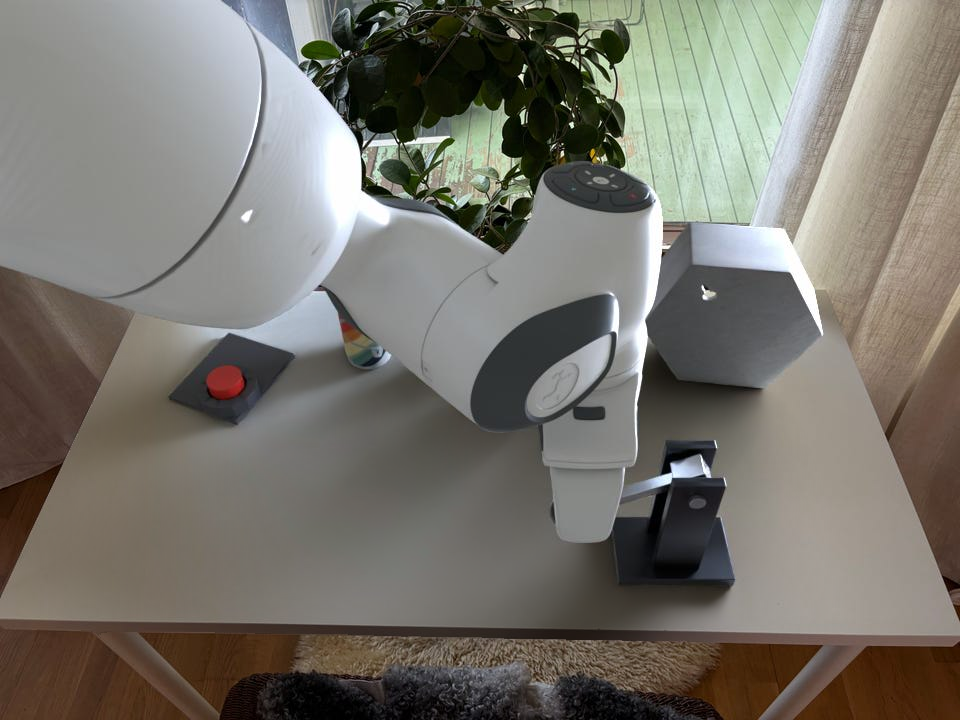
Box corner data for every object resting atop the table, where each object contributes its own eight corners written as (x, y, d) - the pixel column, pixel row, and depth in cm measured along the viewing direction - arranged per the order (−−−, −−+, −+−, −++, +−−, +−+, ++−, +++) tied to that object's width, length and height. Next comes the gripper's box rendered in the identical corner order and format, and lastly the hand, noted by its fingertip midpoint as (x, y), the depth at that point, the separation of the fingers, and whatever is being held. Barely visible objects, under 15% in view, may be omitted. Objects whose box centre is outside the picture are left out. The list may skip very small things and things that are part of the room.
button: (231, 404, 90) (227, 394, 89) (203, 394, 92) (199, 384, 90) (251, 381, 93) (248, 370, 92) (224, 371, 94) (220, 361, 93)
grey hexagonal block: (829, 321, 94) (765, 190, 83) (839, 367, 88) (771, 234, 78) (695, 363, 102) (620, 250, 91) (696, 407, 97) (617, 293, 86)
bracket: (617, 585, 76) (635, 496, 65) (610, 523, 80) (625, 431, 70) (733, 586, 75) (769, 496, 65) (719, 523, 80) (750, 430, 70)
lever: (559, 539, 73) (544, 522, 71) (557, 510, 76) (542, 493, 74) (716, 495, 68) (704, 476, 66) (709, 465, 70) (697, 446, 68)
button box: (238, 428, 91) (233, 414, 89) (166, 402, 94) (160, 388, 92) (298, 358, 98) (294, 343, 97) (230, 336, 102) (225, 321, 100)
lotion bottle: (365, 377, 96) (339, 245, 82) (338, 354, 99) (309, 222, 85) (401, 354, 98) (383, 222, 84) (374, 332, 101) (352, 201, 87)
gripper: (535, 277, 66) (531, 389, 76) (544, 472, 52) (538, 580, 61) (611, 277, 66) (597, 389, 76) (641, 473, 51) (619, 581, 61)
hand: (570, 476), depth 68 cm, fingers closed
